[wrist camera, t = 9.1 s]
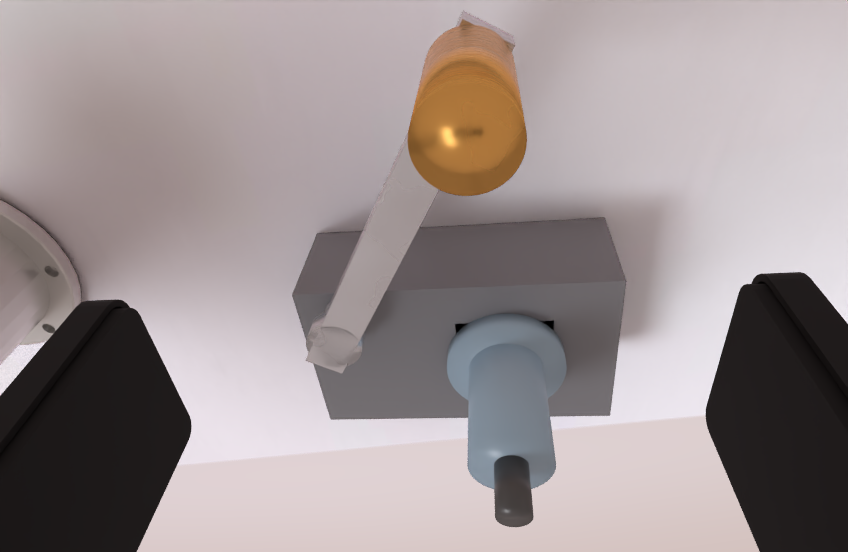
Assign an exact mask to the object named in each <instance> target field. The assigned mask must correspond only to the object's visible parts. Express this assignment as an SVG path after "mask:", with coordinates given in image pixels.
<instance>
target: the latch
mask: <svg viewBox="0 0 848 552" xmlns="http://www.w3.org/2000/svg"><path fill="white" fill-rule="evenodd" d="M514 47H515V42H514V36H513V35H511V34H509V33H507V32H505V31H503V30H501V29H499V28H497V27H495V26H493V25H491V24H489V23H487V22H485V21H483V20H481V19H479V18H477V17H475V16H473V15H471V14H469V13H467V12H465V11H463V12H462V14H461V16H460V18H459V21H458V23H457V25H456V27H455V28H452V29H450V30H448V31H446V32H445V33H443V34H442V35H441V36H440V37H439V38H438V39H437V40H436V41H435V42H434V43H433V45H432V46H431V47H430V49H429V51H428V53H427V56H426V59H425V63H424V67H423V72H422V76H421V80H420V84H419V88H418V93H417V97H416V101H415V105H414V110H413V114H412V118H411V122H410V126H409V130H408V133H407V135H406V137H405V139H404V141H403V144H402V146H401V148H400V150H399V152H398V155H397V157H396V159H395V161H394V163H393V166H392V168H391V170H390V172H389V174H388V177H387V179H386V181H385V183H384V185H383V187H382V190H381V192H380V194H379V196H378V198H377V201H376V203H375V205H374V207H373V209H372V212H371V214H370V216H369V218H368V220H367V223H366V225H365V227H364V229H363V231H362V234H361V236H360V238H359V240H358V242H357V245H356V247H355V249H354V251H353V253H352V256H351V258H350V260H349V262H348V264H347V267H346V269H345V271H344V273H343V275H342V277H341V280H340V282H339V284H338V286H337V288H336V291H335V293H334V295H333V297H332V299H331V302H330V304H329V306H328V308H327V310H326V312H323V313H321V314H319V315H318V316H316V317H315V319H314V320H313V322H312V325H311V328H310V331H309V334H308V337H307V340H306V347H307V350H308V355H307V358H306V361H308V362H311V363H314V364H316V365H319V366H322V367H325V368H328V369H330V370H333V371H336V372H339V373H343V371H344V369H345V368H346V366H349V365H351V364H353V363H355V362H356V361H357V360H358V359H359V358H360V356H361V352H362V348H363V344H364V339H365V330H366V328H367V326H368V324H369V322H370V320H371V318H372V316H373V314H374V312H375V311H376V309H377V307H378V305H379V303H380V301H381V299H382V297H383V295H384V293H385V292H386V290H387V288H388V286H389V284H390V282H391V280H392V278H393V276H394V274H395V273H396V271H397V269H398V267H399V265H400V263H401V261H402V259H403V257H404V255H405V254H406V252H407V250H408V248H409V246H410V244H411V242H412V240H413V238H414V236H415V235H416V233H417V231H418V229H419V227H420V225H421V223H422V221H423V219H424V217H425V216H426V214H427V212H428V210H429V208H430V206H431V204H432V202H433V200H434V198H435V197H436V195H437V193H438V191H439V190H441V191H444V192H446V193H450V194H454V195H461V196H472V195H479V194H483V193H486V192H489V191H492V190H494V189H496V188H498V187H499V186H501V185H502V184H504V183H505V182H506V181H507V180H509V179H510V178H511V177H512V176H513V174H514V173H515V172H516V171H517V169H518V168H519V166H520V164H521V162H522V160H523V157H524V154H525V150H526V143H527V135H526V127H525V122H524V116H523V110H522V104H521V98H520V92H519V86H518V81H517V75H516V69H515V63H514V58H513V55H512V50H513V48H514Z"/></svg>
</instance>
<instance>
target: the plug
mask: <svg viewBox="0 0 848 552" xmlns="http://www.w3.org/2000/svg"><path fill="white" fill-rule="evenodd" d="M566 370H567V366H566V358H565V353H564V348H563V344H562V342H561V340H560V338H559V337H558V335H557V334H556V333H555V332H554V330H553V329H551V328H550V327H549V326H548V325H546V324H544V323H543V322H541V321H539V320H537V319H535V318H532V317H529V316H525V315H520V314H509V313H503V314H494V315H488V316H485V317H481V318H479V319H476V320H474V321H472V322H470V323H469V324H467V325H465V326H464V327H463V328H461V329H460V330H459V331H458V332H457V333H456V335H455V336H454V337H453V339H452V341H451V343H450V345H449V348H448V357H447V374H448V378H449V381H450V383H451V384H452V386H453V388H454V389H455V390H456V391H457V392H458V393H459V394H460V395H461V396H462V397H464V398H465V399H467V400H468V401H469V406H468V469H469V472H470V474H471V475H472V477H473V478H474V479H475V480H477V481H478V482H479V483H481V484H482V485H485V486H487V487H489V488H492V489H494V492H495V518H496V520H497V521H498V522H499V523H500V524H502V525H505V526H509V527H521V526H525V525H527V524H529V523H530V522H531V521H532V520H533V506H532V494H531V489H533V488H535V487H538V486H540V485H542V484H544V483H545V482H547V481H548V480H549V479H550V478H551V477H552V475H553V474H554V472H555V469H556V461H555V453H554V445H553V437H552V429H551V421H550V413H549V405H548V398H549V397H550V396H552V395H553V394H554V393H555V392H556V391H557V390H558V389H559V388H560V386H561V385H562V383H563V381H564V379H565V376H566Z"/></svg>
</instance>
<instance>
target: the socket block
mask: <svg viewBox="0 0 848 552" xmlns="http://www.w3.org/2000/svg"><path fill="white" fill-rule="evenodd" d="M361 234H362V231H355V232H337V233H319V234H317V235H316V238H315V240H314V243H313V245H312V248H311V250H310V252H309V255H308V257H307V260H306V262H305V265H304V267H303V270H302V272H301V274H300V277H299V279H298V282H297V284H296V287H295V289H294V292H293V294H292V296H293V299H294V302H295V306H296V309H297V312H298V315H299V319H300V322H301V325H302V328H303V331H304V335H305V338H306V340H307V337H308V334H309V331H310V328H311V325H312V322H313V320H314V319H315V317H316V316H318V315H319V314H321V313H323V312H326V310H327V308H328V306H329V304H330V302H331V299H332V297H333V295H334V293H335V291H336V288H337V286H338V284H339V282H340V280H341V277H342V275H343V273H344V271H345V269H346V267H347V264H348V262H349V260H350V258H351V256H352V253H353V251H354V249H355V247H356V245H357V242H358V240H359V238H360V236H361ZM625 286H626V279H625V276H624V273H623V270H622V267H621V264H620V262H619V259H618V256H617V253H616V250H615V247H614V244H613V241H612V238H611V235H610V232H609V229H608V226H607V223H606V220H605V218H591V219H573V220H555V221H537V222H519V223H501V224H482V225H464V226H446V227H428V228H419V229H418V231H417V233H416V235H415V236H414V238H413V240H412V242H411V244H410V246H409V248H408V250H407V252H406V254H405V255H404V257H403V259H402V261H401V263H400V265H399V267H398V269H397V271H396V273H395V274H394V276H393V278H392V280H391V282H390V284H389V286H388V288H387V290H386V292H385V293H384V295H383V297H382V299H381V301H380V303H379V305H378V307H377V309H376V311H375V312H374V314H373V316H372V318H371V320H370V322H369V324H368V326H367V328H366V330H365V339H364V344H363V348H362V352H361V356H360V358H359V359H358V360H357V361H356V362H355V363H353V364H351V365H349V366H346V368H345V369H344V371H343V373H339V372H336V371H333V370H330V369H328V368H325V367H322V366H319V365H316V364H314V363H313V364H314V367H315V370H316V373H317V377H318V380H319V383H320V386H321V389H322V393H323V396H324V399H325V402H326V406H327V409H328V412H329V415H330V418H331V419H399V418H468V406H469V401H468V400H467V399H465V398H464V397H462V396H461V395H460V394H459V393H458V392H457V391H456V390H455V389H454V388H453V386H452V384H451V383H450V381H449V378H448V374H447V357H448V348H449V345H450V343H451V341H452V339H453V337H454V336H455V335H456V333H457V332H458V331H459V330H460V329H461V328H463V327H464V326H465V325H467V324H469V323H470V322H472V321H474V320H476V319H479V318H481V317H485V316H488V315H494V314H503V313H509V314H520V315H525V316H529V317H532V318H535V319H537V320H539V321H541V322H543V323H544V324H546V325H548V326H549V327H550V328H551V329H553V330H554V332H555V333H556V334H557V335H558V337H559V338H560V340H561V342H562V344H563V348H564V353H565V358H566V366H567V370H566V376H565V379H564V381H563V383H562V385H561V386H560V388H559V389H558V390H557V391H556V392H555V393H554V394H553V395H552V396H550V397H549V398H548V405H549V413H550V416H610V411H611V402H612V394H613V386H614V377H615V369H616V361H617V353H618V344H619V336H620V328H621V319H622V311H623V303H624V294H625Z"/></svg>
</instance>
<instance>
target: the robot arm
mask: <svg viewBox="0 0 848 552" xmlns="http://www.w3.org/2000/svg"><path fill="white" fill-rule="evenodd" d="M45 341H47V342H46V343H45V344H44V345H43V346H42V348H41V349H40V350H39V351H38V352H37V353H36V355H35V356H34V357H33V358H32V359H31V360H30V362H29V363H28V364H27V365H26V366H25V368H24V369H23V370H22V371H21V372H20V373H19V375H18V376H17V377H16V378H15V379H14V381H13V382H12V383H11V384H10V385H9V386H8V388H7V389H6V390H5V391H4V392H3V393H2V395H1V396H0V552H137V550H138V547H139V545H140V543H141V541H142V539H143V537H144V535H145V532H146V530H147V528H148V526H149V524H150V522H151V520H152V517H153V515H154V513H155V511H156V509H157V507H158V505H159V502H160V500H161V498H162V496H163V494H164V492H165V489H166V487H167V485H168V483H169V481H170V479H171V477H172V474H173V472H174V470H175V468H176V466H177V464H178V462H179V459H180V457H181V455H182V453H183V451H184V449H185V447H186V444H187V442H188V440H189V437H190V434H191V419H190V416H189V414H188V412H187V410H186V408H185V406H184V404H183V402H182V400H181V398H180V396H179V394H178V392H177V390H176V388H175V386H174V384H173V382H172V379H171V377H170V375H169V373H168V371H167V369H166V367H165V365H164V363H163V361H162V359H161V357H160V355H159V353H158V351H157V349H156V347H155V345H154V343H153V341H152V339H151V337H150V335H149V333H148V331H147V329H146V327H145V325H144V323H143V321H142V318H141V316H140V315H139V313H138V312H137V311H136V310H135V309H133V308H130V307H129V306H128V304H127V303H125V302H124V301H122V300H97V301H85V302H81V288H80V284H79V281H78V278H77V274H76V272H75V270H74V268H73V266H72V264H71V262H70V260H69V259H68V257H67V256H66V255H65V253H64V252H63V251H62V249H61V248H60V246H59V245H58V244H57V243H56V242H55V241H54V240H53V239H52V238H51V236H50V235H49V234H48V233H47V232H46V231H45V230H44V229H43V228H41V227H40V226H39V225H38V224H36V223H35V222H34V221H33V220H31V219H30V218H29V217H28V216H26V215H25V214H23V213H22V212H20V211H18V210H17V209H15V208H14V207H12V206H10V205H9V204H7V203H5V202H3V201H1V200H0V365H1V364H2V363H3V362H4V360H5V359H6V358H7V357H8V356H9V355H10V354H11V353H12V352H13V351H14V349H15V348H16V347H17V346H18V345H29V344H37V343H42V342H45ZM706 422H707V427H708V430H709V433H710V435H711V438H712V440H713V442H714V445H715V447H716V449H717V452H718V454H719V456H720V459H721V461H722V464H723V466H724V468H725V470H726V473H727V475H728V478H729V480H730V482H731V485H732V487H733V490H734V492H735V494H736V497H737V499H738V501H739V503H740V506H741V508H742V511H743V513H744V515H745V518H746V520H747V522H748V524H749V527H750V530H751V532H752V534H753V537H754V539H755V541H756V544H757V546H758V548H759V551H760V552H848V324H847V323H846V321H845V320H844V319H843V318H842V316H841V315H840V314H839V313H838V312H837V310H836V309H835V308H834V307H833V305H832V304H831V303H830V302H829V300H828V299H827V298H826V297H825V296H824V294H823V293H822V292H821V291H820V289H819V288H818V287H817V286H816V285H815V283H814V282H813V281H812V280H811V278H810V277H808V276H807V275H806V274H805V273H801V272H795V273H770V274H759V275H757V276H756V277H755V278H754V279H753V282H752V284H746V285H743V286H742V288H741V289H740V292H739V295H738V298H737V302H736V305H735V309H734V312H733V316H732V319H731V323H730V326H729V330H728V333H727V337H726V340H725V344H724V347H723V351H722V354H721V358H720V361H719V365H718V368H717V372H716V375H715V378H714V382H713V385H712V389H711V392H710V396H709V399H708V403H707V407H706Z"/></svg>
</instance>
